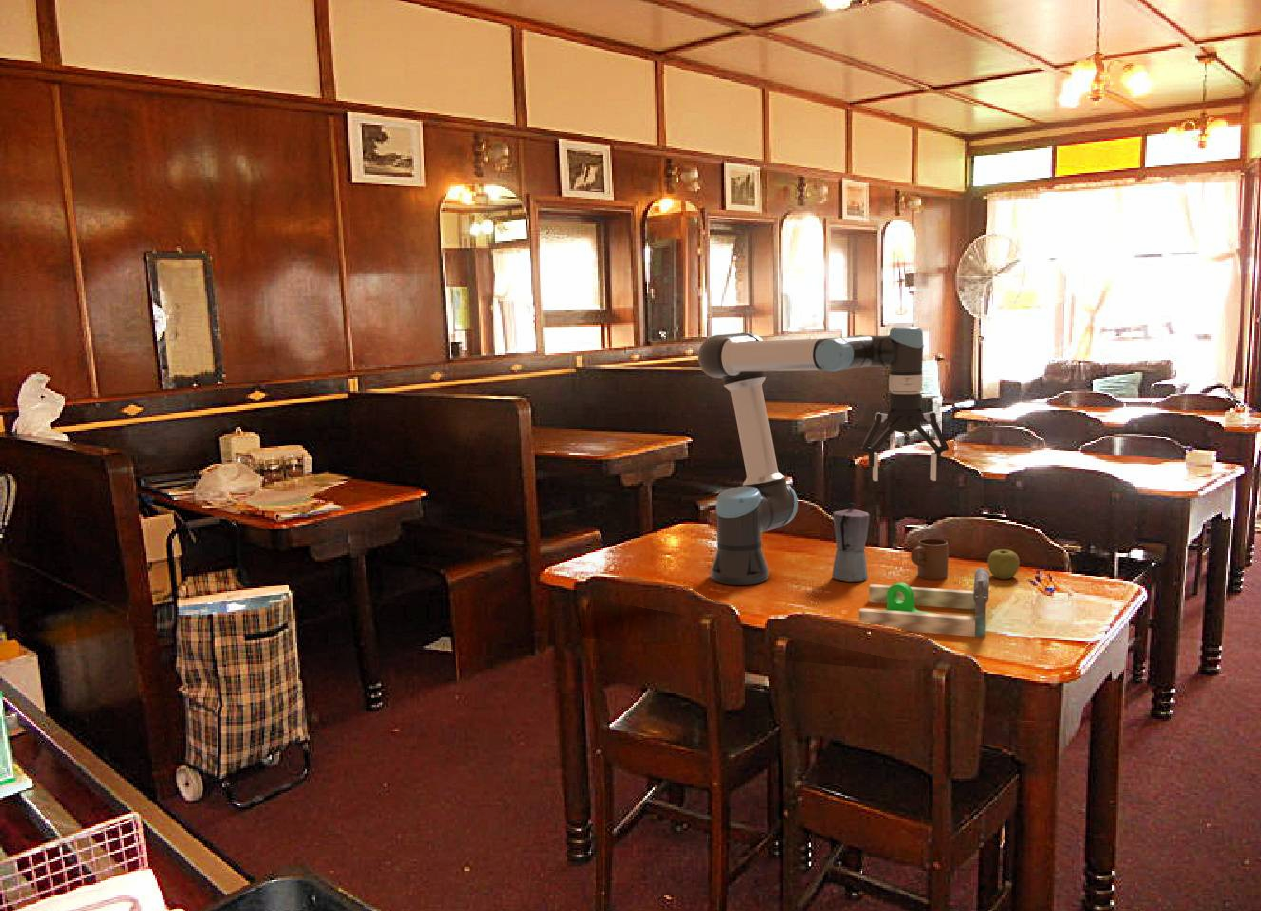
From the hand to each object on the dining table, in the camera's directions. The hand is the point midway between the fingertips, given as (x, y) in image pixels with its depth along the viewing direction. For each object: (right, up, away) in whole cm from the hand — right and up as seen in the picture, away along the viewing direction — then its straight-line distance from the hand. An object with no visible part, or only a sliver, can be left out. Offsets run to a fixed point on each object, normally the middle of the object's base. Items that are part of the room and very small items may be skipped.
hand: (904, 480), depth 225 cm
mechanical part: (-3, -32, -16) cm, 36 cm away
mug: (+11, -26, +15) cm, 32 cm away
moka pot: (-9, -26, +17) cm, 33 cm away
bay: (0, -31, -15) cm, 35 cm away
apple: (+29, -26, +13) cm, 41 cm away
